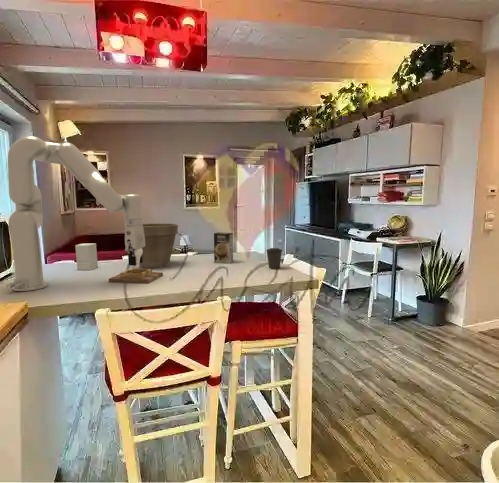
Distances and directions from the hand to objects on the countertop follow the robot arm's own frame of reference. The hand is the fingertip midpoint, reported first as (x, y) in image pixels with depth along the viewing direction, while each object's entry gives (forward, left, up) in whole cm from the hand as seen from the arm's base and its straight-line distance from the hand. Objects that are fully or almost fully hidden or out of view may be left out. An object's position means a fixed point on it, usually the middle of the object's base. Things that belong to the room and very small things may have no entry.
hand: (135, 263), depth 158 cm
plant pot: (+30, +5, -7) cm, 31 cm away
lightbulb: (0, 0, -3) cm, 3 cm away
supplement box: (+18, +36, -7) cm, 41 cm away
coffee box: (+43, -29, -7) cm, 52 cm away
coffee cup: (+30, -58, -7) cm, 66 cm away
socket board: (0, 0, -7) cm, 7 cm away
